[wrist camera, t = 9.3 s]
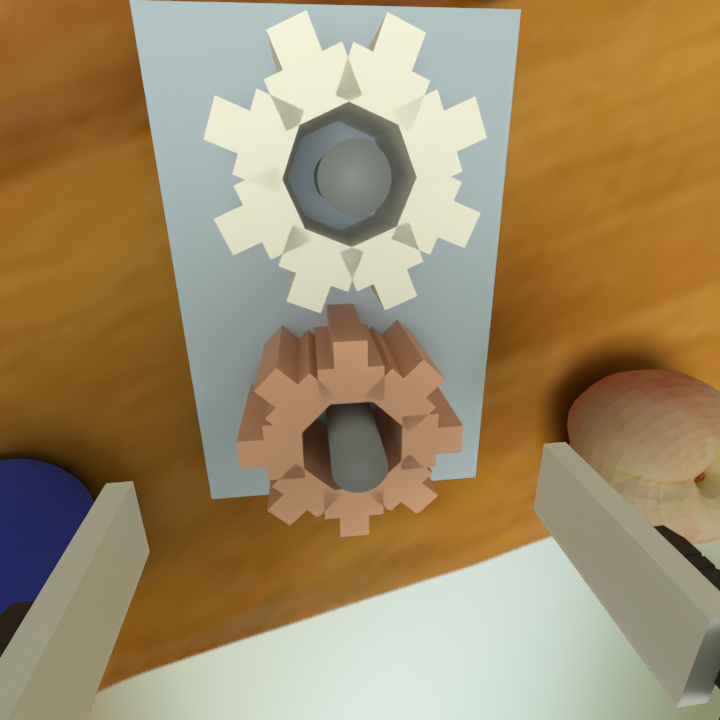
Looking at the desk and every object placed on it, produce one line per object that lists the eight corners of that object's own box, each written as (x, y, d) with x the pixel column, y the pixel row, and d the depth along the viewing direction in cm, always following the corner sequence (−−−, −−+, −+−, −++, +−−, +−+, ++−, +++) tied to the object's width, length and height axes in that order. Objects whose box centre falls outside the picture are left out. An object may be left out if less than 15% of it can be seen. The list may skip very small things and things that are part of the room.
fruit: (690, 350, 25) (849, 422, 18) (645, 472, 28) (766, 576, 21) (556, 344, 24) (667, 417, 17) (524, 471, 27) (606, 581, 20)
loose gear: (241, 308, 20) (223, 347, 15) (433, 300, 21) (470, 335, 16) (260, 472, 23) (250, 545, 19) (426, 459, 24) (455, 526, 20)
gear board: (216, 481, 25) (180, 609, 18) (143, 14, 17) (22, -109, 10) (466, 461, 26) (529, 572, 19) (504, 21, 18) (638, -82, 11)
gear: (290, 314, 20) (286, 354, 16) (186, 112, 17) (143, 89, 12) (468, 233, 20) (518, 250, 15) (397, 11, 17) (433, -53, 12)
